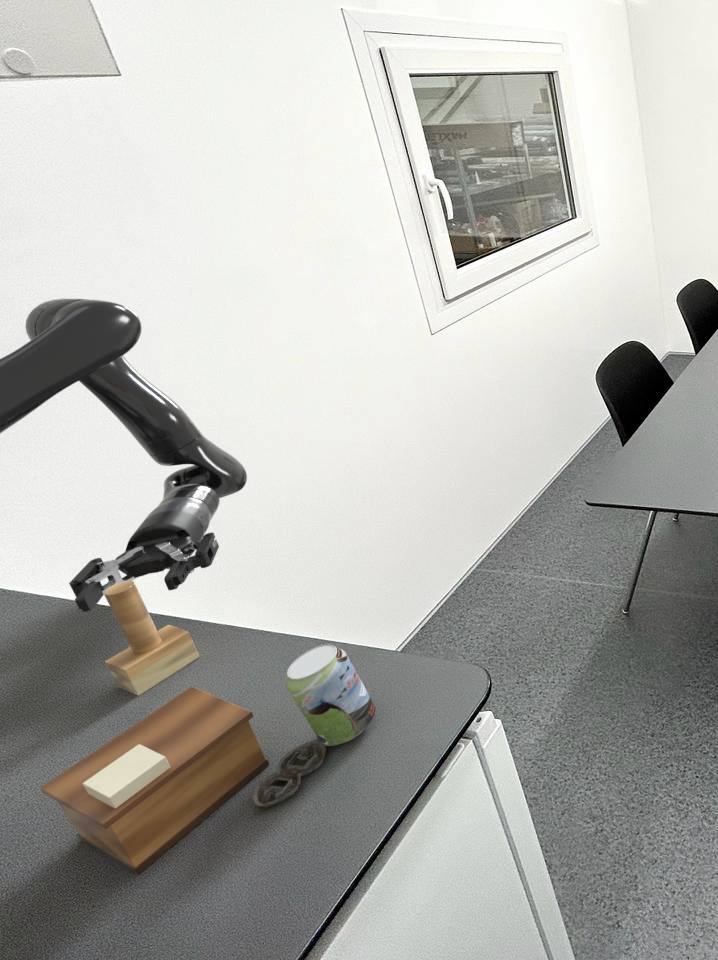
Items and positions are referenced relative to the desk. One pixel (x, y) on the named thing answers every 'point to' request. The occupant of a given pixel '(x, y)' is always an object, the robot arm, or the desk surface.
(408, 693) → the desk surface
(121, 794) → the cream soap bar
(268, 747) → the desk surface
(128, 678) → the wooden stamp
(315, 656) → the beverage can
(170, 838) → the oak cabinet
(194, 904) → the desk surface
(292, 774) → the corroded twin loop
